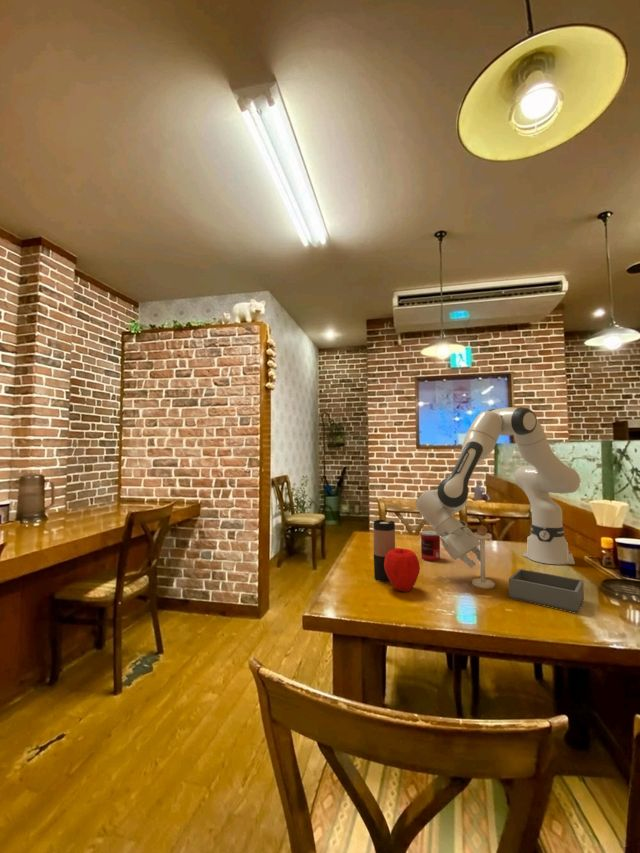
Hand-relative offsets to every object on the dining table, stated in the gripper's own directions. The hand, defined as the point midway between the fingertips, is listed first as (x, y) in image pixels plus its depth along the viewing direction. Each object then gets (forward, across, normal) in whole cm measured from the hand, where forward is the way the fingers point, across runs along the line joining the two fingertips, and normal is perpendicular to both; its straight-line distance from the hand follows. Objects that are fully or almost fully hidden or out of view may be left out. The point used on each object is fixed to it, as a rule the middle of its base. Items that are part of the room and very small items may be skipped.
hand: (478, 563), depth 135 cm
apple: (-7, -22, +17) cm, 29 cm away
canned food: (-13, +18, +23) cm, 32 cm away
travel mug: (-14, -16, +24) cm, 33 cm away
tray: (+20, 0, -10) cm, 22 cm away
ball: (-7, 0, -9) cm, 12 cm away
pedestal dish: (+6, 0, +4) cm, 7 cm away
